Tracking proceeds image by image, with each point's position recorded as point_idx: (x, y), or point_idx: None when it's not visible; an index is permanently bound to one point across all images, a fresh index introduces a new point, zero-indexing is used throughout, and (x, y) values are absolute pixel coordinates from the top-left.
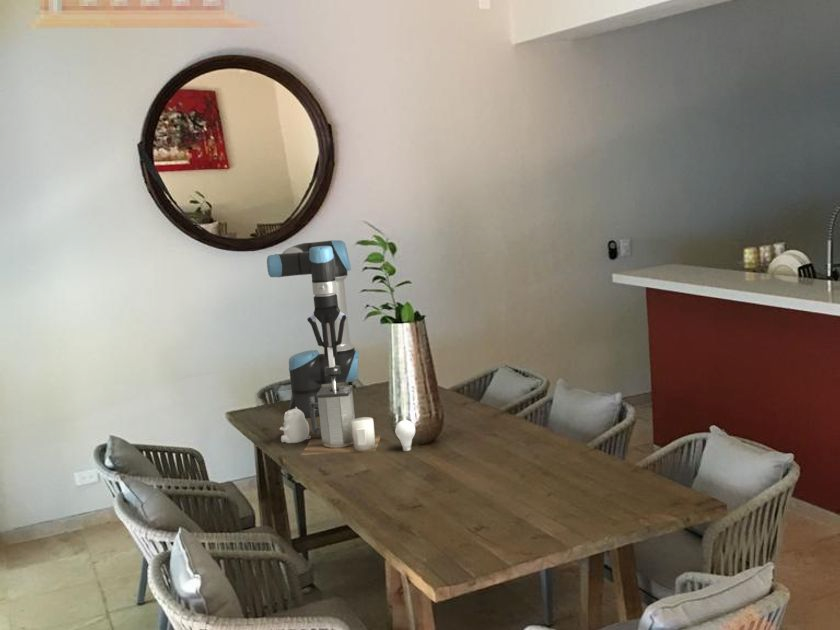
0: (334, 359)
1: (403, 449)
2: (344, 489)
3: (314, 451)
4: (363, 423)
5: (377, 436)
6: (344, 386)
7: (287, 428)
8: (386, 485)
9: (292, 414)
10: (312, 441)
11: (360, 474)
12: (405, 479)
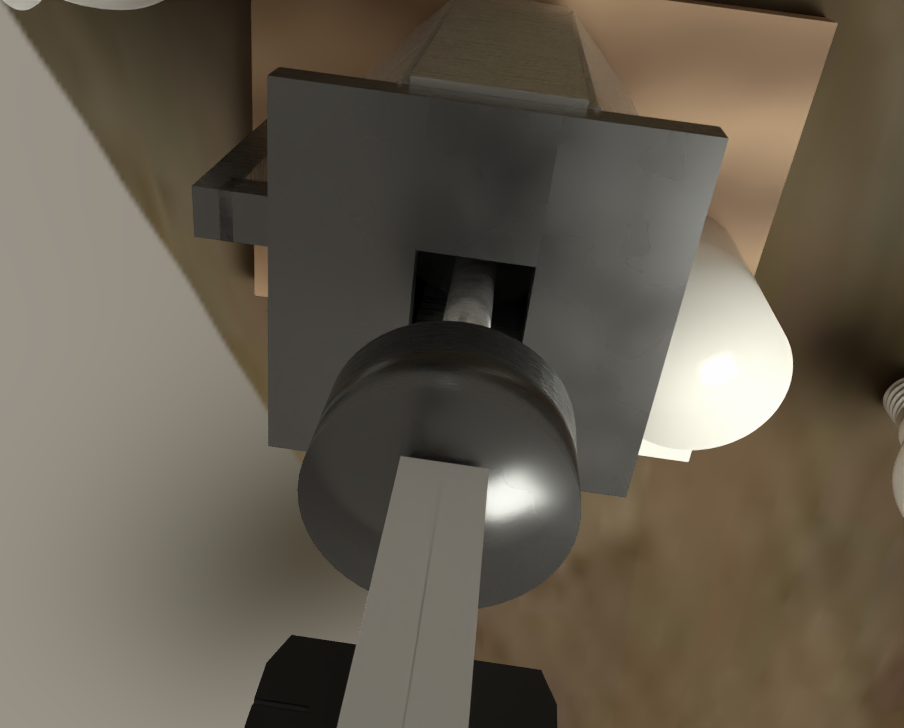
0: (481, 559)
1: (893, 419)
2: None
3: None
4: (694, 448)
5: (803, 46)
6: (605, 168)
7: (33, 4)
8: (692, 707)
9: None
10: (278, 4)
11: (597, 578)
12: (785, 680)
